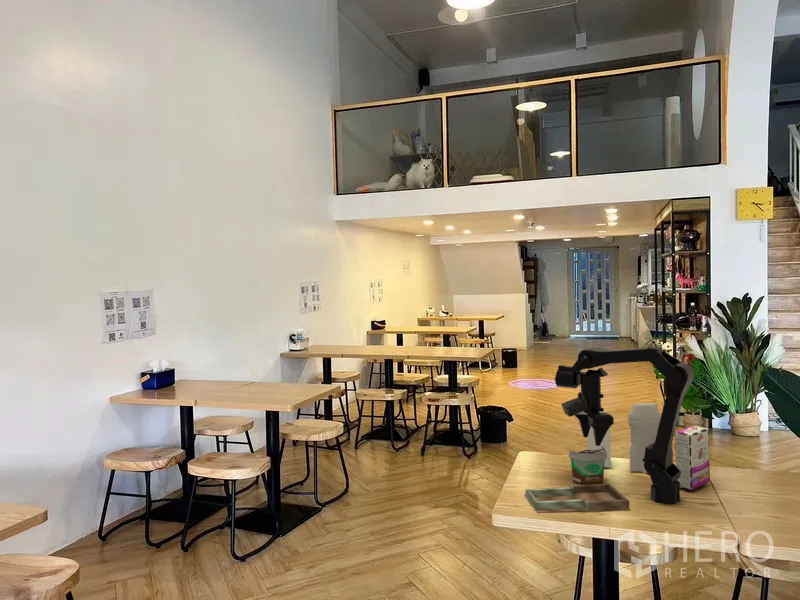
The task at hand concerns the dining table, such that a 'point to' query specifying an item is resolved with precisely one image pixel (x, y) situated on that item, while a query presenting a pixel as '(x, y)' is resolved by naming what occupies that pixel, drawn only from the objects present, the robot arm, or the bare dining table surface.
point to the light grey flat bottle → (642, 432)
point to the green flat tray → (577, 499)
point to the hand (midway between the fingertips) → (591, 441)
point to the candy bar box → (692, 456)
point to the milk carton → (604, 443)
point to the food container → (588, 466)
